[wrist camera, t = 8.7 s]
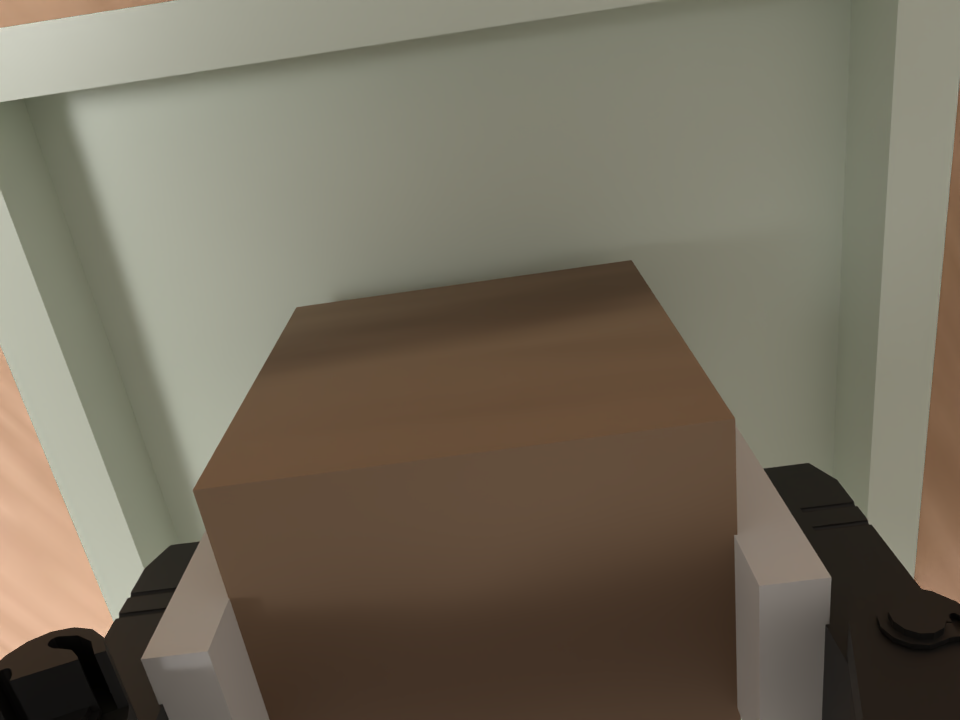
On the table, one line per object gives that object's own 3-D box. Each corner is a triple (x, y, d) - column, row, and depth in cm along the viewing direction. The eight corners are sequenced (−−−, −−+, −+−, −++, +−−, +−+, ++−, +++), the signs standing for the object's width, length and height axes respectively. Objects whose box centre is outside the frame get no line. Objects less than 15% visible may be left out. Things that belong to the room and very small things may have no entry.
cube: (296, 307, 14) (192, 489, 9) (632, 259, 14) (734, 418, 9) (363, 576, 17) (312, 851, 11) (651, 540, 17) (742, 803, 11)
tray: (-38, 41, 14) (-123, 47, 12) (901, -106, 13) (978, -126, 11) (213, 717, 20) (185, 795, 18) (857, 643, 20) (901, 716, 18)
